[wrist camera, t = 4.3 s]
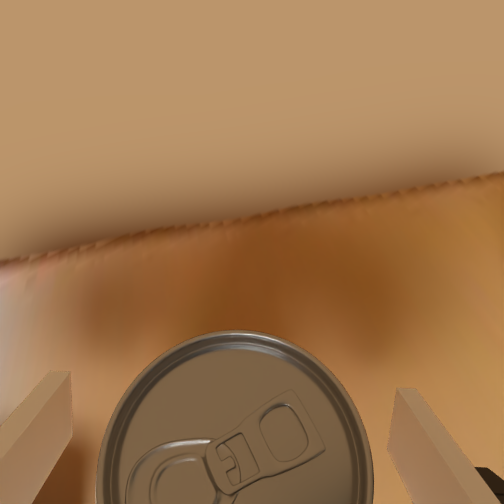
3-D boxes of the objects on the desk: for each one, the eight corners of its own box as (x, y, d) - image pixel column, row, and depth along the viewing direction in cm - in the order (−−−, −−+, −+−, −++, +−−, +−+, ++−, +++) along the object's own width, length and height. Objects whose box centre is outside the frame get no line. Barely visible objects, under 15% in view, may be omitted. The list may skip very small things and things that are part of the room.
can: (133, 455, 19) (35, 387, 9) (258, 390, 21) (293, 273, 11) (190, 619, 16) (139, 786, 6) (329, 526, 18) (464, 538, 8)
